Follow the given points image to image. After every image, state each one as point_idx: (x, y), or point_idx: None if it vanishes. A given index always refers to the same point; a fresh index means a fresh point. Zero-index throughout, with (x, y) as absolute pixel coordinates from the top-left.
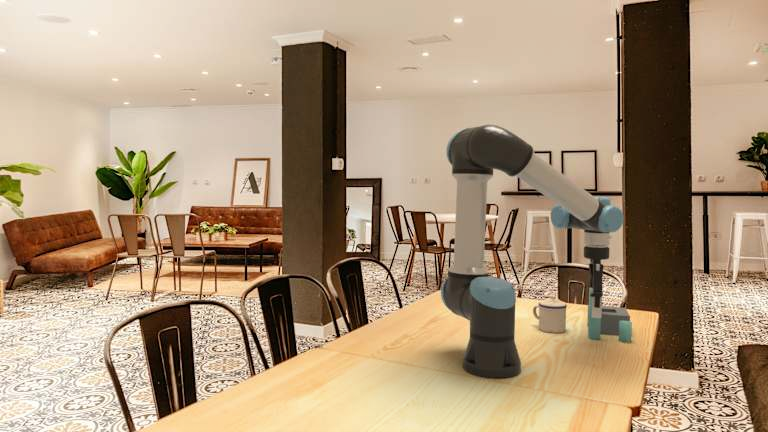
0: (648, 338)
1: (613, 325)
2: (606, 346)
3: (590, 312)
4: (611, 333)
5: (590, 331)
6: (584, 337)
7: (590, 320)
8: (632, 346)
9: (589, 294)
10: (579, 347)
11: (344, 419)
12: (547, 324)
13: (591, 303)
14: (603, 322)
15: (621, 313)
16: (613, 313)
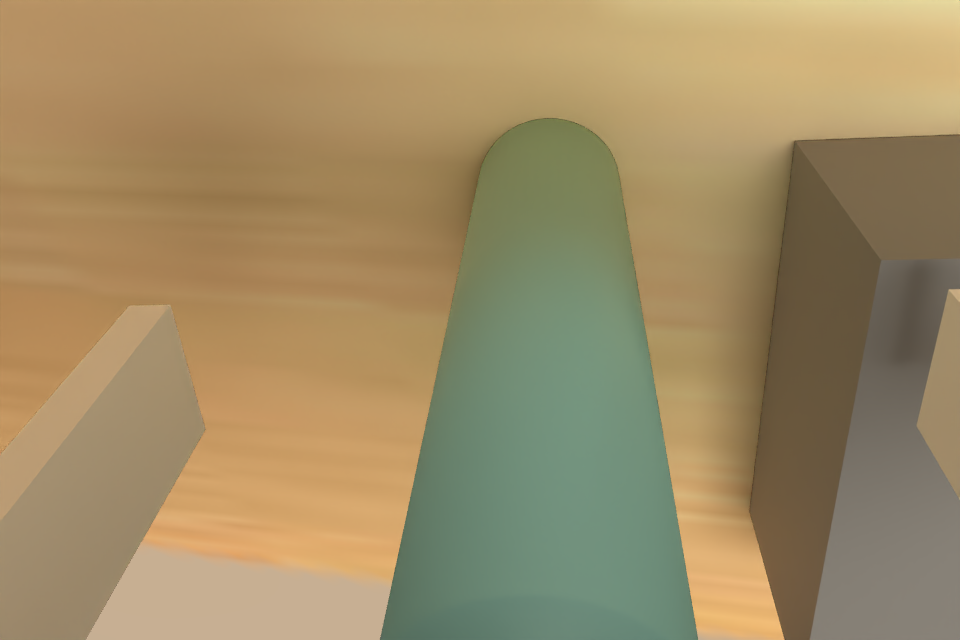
0: (709, 628)
1: (789, 453)
2: (267, 293)
3: (473, 302)
4: (768, 376)
5: (490, 177)
6: (543, 74)
7: (476, 240)
8: (385, 495)
9: (498, 524)
10: (62, 12)
11: None
12: None
13: (436, 421)
14: (812, 369)
15: (942, 636)
16: (926, 558)
